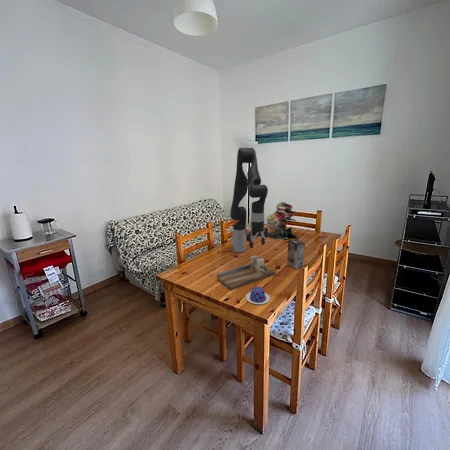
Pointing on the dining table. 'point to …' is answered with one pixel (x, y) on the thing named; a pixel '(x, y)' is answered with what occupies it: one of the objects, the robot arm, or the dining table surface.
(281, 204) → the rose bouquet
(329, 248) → the dining table surface
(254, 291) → the pudding
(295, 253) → the coffee box
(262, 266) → the block
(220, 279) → the walnut board
